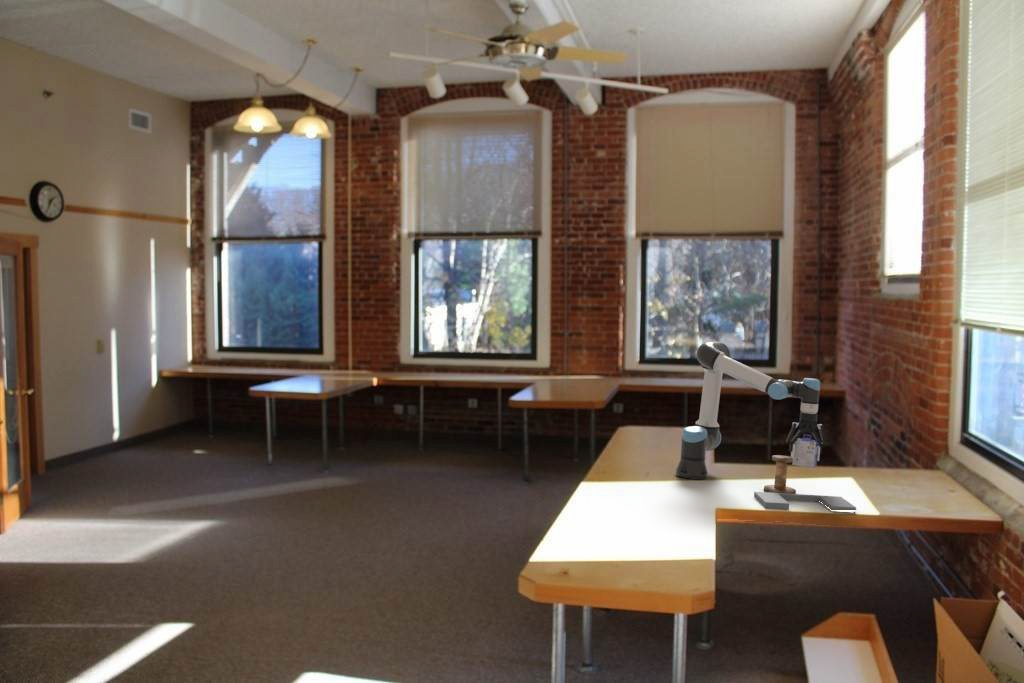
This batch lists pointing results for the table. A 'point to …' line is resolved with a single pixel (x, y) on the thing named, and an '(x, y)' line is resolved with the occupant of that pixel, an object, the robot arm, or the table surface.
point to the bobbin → (780, 476)
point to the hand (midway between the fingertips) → (804, 459)
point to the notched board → (780, 500)
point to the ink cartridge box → (805, 452)
